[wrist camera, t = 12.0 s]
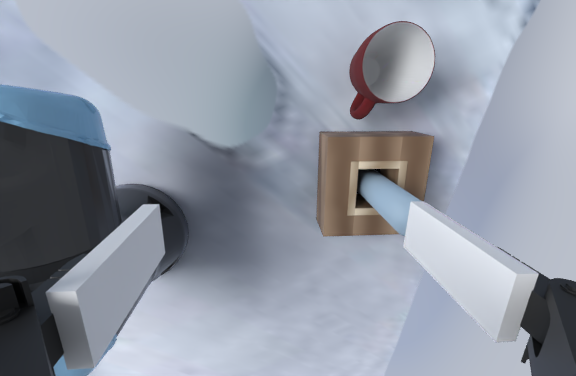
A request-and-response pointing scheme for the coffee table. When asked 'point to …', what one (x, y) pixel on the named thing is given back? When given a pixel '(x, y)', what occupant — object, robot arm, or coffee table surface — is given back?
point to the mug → (391, 66)
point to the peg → (386, 198)
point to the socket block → (366, 155)
